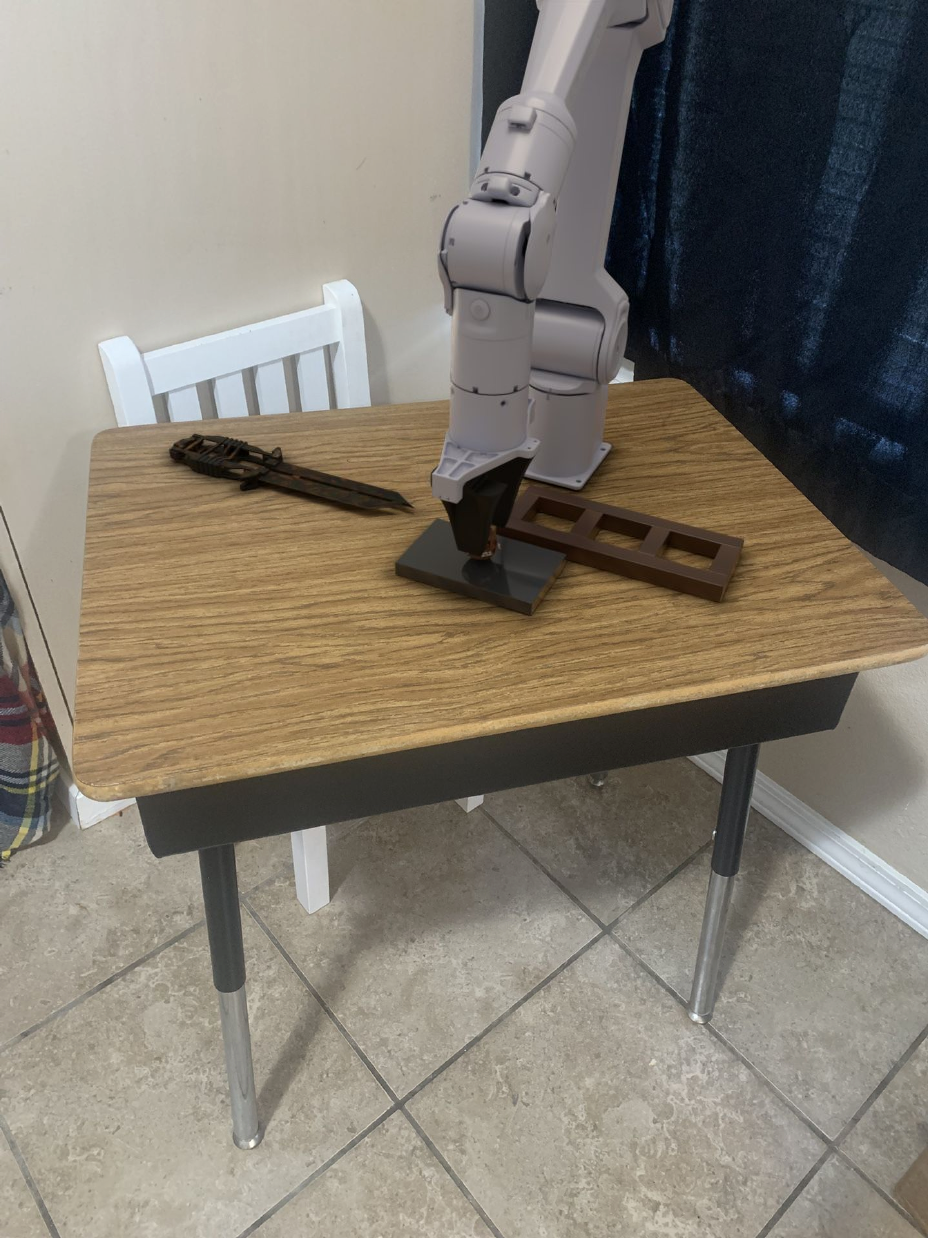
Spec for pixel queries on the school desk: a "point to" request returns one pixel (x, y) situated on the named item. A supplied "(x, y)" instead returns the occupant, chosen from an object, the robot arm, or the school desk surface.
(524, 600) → the board
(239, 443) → the knife
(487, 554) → the chocolate
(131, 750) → the school desk surface
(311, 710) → the school desk surface
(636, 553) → the rack
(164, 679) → the school desk surface
